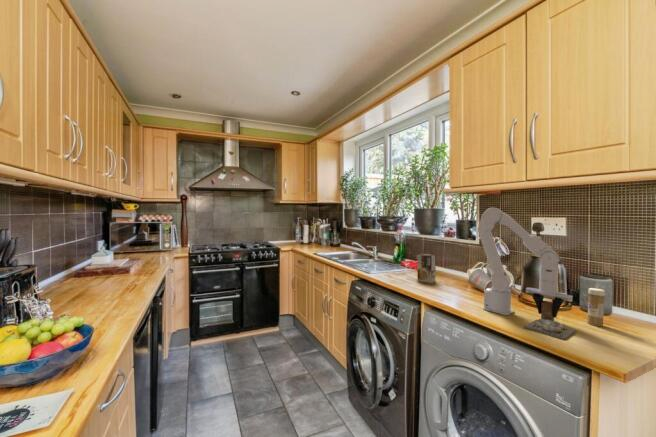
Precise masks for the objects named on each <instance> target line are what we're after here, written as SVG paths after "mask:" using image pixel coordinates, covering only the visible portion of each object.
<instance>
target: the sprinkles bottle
mask: <svg viewBox="0 0 656 437" xmlns="http://www.w3.org/2000/svg"><path fill="white" fill-rule="evenodd" d="M587 290H588V291H587V294H588V303H587V305H588V306H587V321H586V323H588V324H589V325H590V326H594V327H603V326H604V316H605V315H604V314H605V313H604V312H605V310H604V309H605V295H606V292H605V289H602V288H597V287H596V288H595V287H590V288H588V289H587Z"/></svg>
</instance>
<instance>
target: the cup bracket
mask: <svg viewBox="0 0 656 437" xmlns="http://www.w3.org/2000/svg"><path fill="white" fill-rule="evenodd" d="M536 325H537V326H536ZM523 329H526V330H529V331H532V330H533V332H536V331H537V333H539V332H540V334H542V333H543V334H544V335H546V336H550V337H552V338H556V339H560V340H563V339H564V340H563V341H566V340H567V339H568V338H570V337H571V336H572V335H574V334H575V333H576V332H577V329H575V328H570V327H566V326H564V325H563V324H562V323H561V322H558V321H556V320H554V321H552V320H547V319H541V318H539V319H535V320H533V321H530V322H529V323H527V324H525V325H524V326H523ZM565 330H566V331H565ZM561 333H562V334H561ZM543 334H542V335H543ZM569 336H570V337H569ZM566 338H567V339H566ZM565 339H566V340H565Z"/></svg>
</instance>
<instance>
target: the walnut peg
mask: <svg viewBox="0 0 656 437" xmlns="http://www.w3.org/2000/svg"><path fill="white" fill-rule="evenodd" d="M540 319H547V320H552V321H555V318H554V317H553V303H552V301H550V300H543V301H542V302H541V314H540Z"/></svg>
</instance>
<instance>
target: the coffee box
mask: <svg viewBox="0 0 656 437" xmlns="http://www.w3.org/2000/svg"><path fill="white" fill-rule="evenodd" d="M436 256H437V255H436V254H428V253H426V254H425V253H420V254H417V279H416V280H417V282H422V283H430V284H433V283H435V282H436V278H437V277H436V276H437V275H436V273H437V270H436V268H437V262H436V260H437V258H436Z"/></svg>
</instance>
